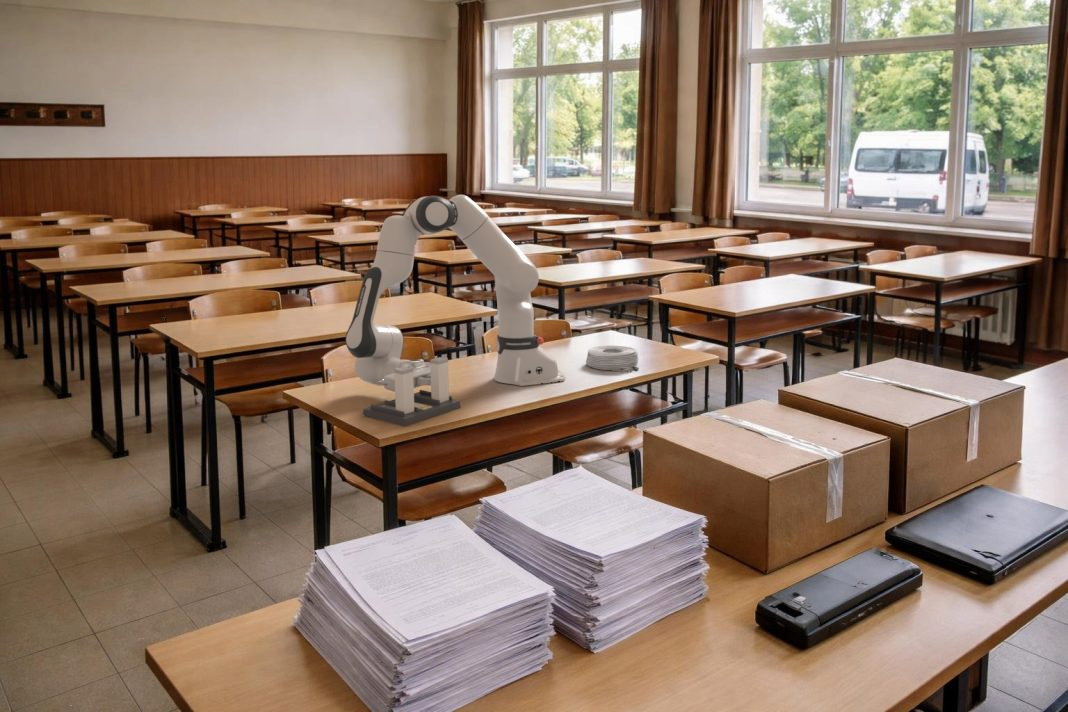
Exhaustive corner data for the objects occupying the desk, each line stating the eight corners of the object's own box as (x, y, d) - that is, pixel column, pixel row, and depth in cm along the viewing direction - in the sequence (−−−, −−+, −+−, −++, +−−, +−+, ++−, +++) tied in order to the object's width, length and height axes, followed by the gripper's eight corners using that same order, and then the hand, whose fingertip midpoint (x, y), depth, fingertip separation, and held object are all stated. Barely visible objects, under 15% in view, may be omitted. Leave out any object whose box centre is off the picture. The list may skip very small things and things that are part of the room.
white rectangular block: (395, 412, 251) (394, 369, 248) (406, 409, 254) (404, 366, 251) (403, 414, 249) (402, 370, 246) (414, 411, 252) (413, 368, 249)
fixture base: (363, 415, 256) (363, 404, 255) (418, 398, 273) (418, 388, 272) (405, 426, 246) (405, 414, 246) (460, 407, 264) (460, 396, 263)
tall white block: (431, 401, 262) (430, 359, 259) (441, 398, 265) (440, 357, 262) (439, 403, 260) (438, 361, 257) (448, 399, 263) (448, 358, 260)
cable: (640, 372, 304) (640, 354, 303) (586, 372, 305) (586, 354, 303) (635, 360, 321) (636, 343, 320) (585, 360, 322) (585, 343, 320)
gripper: (373, 371, 261) (409, 378, 253) (423, 357, 277) (459, 364, 269) (374, 393, 263) (410, 401, 255) (424, 378, 279) (459, 385, 271)
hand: (435, 382), depth 262 cm, fingers closed, pressing on tall white block
